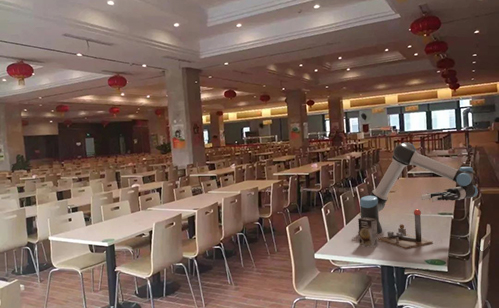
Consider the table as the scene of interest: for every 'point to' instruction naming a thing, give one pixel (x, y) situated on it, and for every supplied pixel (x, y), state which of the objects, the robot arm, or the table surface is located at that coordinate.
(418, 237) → the lever
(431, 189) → the table surface
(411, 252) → the table surface
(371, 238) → the coffee box
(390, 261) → the table surface
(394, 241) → the cracker base
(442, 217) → the table surface
